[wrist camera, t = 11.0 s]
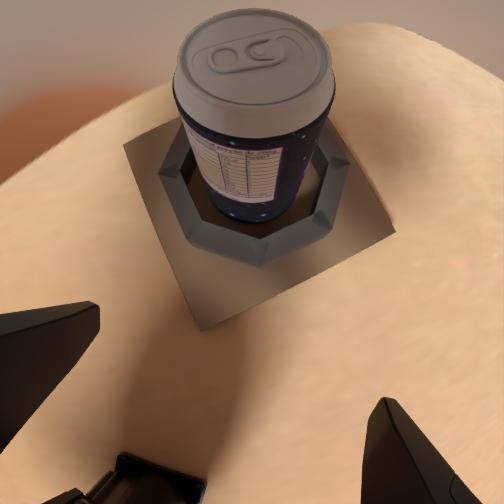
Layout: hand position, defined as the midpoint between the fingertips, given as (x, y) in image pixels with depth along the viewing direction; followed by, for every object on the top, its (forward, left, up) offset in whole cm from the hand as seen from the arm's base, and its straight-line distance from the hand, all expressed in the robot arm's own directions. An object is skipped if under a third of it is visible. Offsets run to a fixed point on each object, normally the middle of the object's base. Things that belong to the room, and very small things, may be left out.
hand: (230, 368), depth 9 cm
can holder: (+2, -10, -11) cm, 15 cm away
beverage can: (+2, -9, -10) cm, 14 cm away
